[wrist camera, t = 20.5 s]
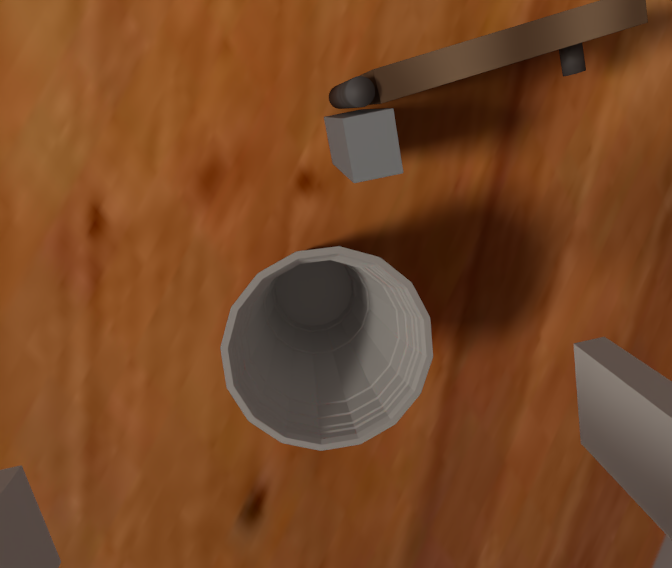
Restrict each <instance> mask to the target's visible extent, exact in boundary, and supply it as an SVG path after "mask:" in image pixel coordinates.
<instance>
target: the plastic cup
mask: <svg viewBox="0 0 672 568" xmlns="http://www.w3.org/2000/svg"><path fill="white" fill-rule="evenodd" d="M220 349H221V355H222V361H223V367H224V374H225V380H226V386H227V389H228V390H229V392H230V393H231V395H232V397H233V398H234V400H235V401H236V403H237V404H238V406H239V407H240V409H241V410H242V412H243V413H244V415H245V416H246V418H247V419H248V421H249V422H251V423H252V424H254V425H255V426H257V427H258V428H260V429H261V430H263V431H264V432H266V433H267V434H269V435H270V436H272V437H274V438H275V439H277V440H278V441H280V442H281V443H285V444H290V445H295V446H300V447H305V448H310V449H315V450H320V451H322V450H328V449H334V448H340V447H346V446H352V445H358V444H362V443H363V442H365V441H367V440H369V439H370V438H372V437H374V436H376V435H377V434H379V433H381V432H383V431H384V430H386V429H388V428H390V427H391V426H393V425H395V424H396V423H397V422H398V420H399V419H400V418H401V417H402V416H403V414H404V413H405V412H406V411H407V410H408V408H409V407H410V406H411V405H412V404H413V402H414V401H415V400H416V399H417V398H418V396H419V395H420V394H421V391H422V388H423V385H424V382H425V379H426V376H427V373H428V370H429V367H430V364H431V361H432V358H433V349H432V335H431V321H430V316H429V314H428V312H427V310H426V309H425V307H424V305H423V303H422V301H421V299H420V297H419V295H418V293H417V291H416V289H415V288H414V286H413V284H412V282H410V281H409V280H408V279H407V278H405V277H404V276H403V275H402V274H400V273H399V272H398V271H397V270H395V269H394V268H393V267H392V266H390V265H389V264H388V263H387V262H385V261H384V260H383V259H382V258H380V257H377V256H374V255H370V254H366V253H363V252H359V251H355V250H352V249H348V248H344V247H341V246H336V247H329V248H321V249H313V250H305V251H297V252H295V253H293V254H291V255H289V256H288V257H286V258H284V259H282V260H280V261H279V262H277V263H275V264H273V265H272V266H270V267H268V268H266V269H265V270H263V271H261V272H259V273H258V274H257V275H256V276H255V277H254V279H253V280H252V281H251V283H250V284H249V285H248V286H247V288H246V289H245V290H244V292H243V293H242V294H241V295H240V297H239V298H238V299H237V300H236V302H235V303H234V304H233V306H232V307H231V310H230V313H229V317H228V321H227V325H226V328H225V332H224V336H223V340H222V344H221V347H220Z"/></svg>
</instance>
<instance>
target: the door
mask: <svg viewBox="0 0 672 568" xmlns="http://www.w3.org/2000/svg"><path fill="white" fill-rule="evenodd" d="M647 22H648V19H647V10H646V1H645V0H600V1H597V2H594V3H591V4H587V5H584V6H581V7H577V8H574V9H571V10H567V11H564V12H561V13H558V14H554V15H551V16H548V17H544V18H541V19H538V20H535V21H531V22H528V23H525V24H521V25H518V26H515V27H512V28H508V29H505V30H502V31H498V32H495V33H492V34H488V35H485V36H482V37H479V38H475V39H472V40H469V41H465V42H462V43H459V44H456V45H452V46H449V47H446V48H442V49H439V50H436V51H433V52H429V53H426V54H423V55H419V56H416V57H413V58H410V59H406V60H403V61H400V62H396V63H393V64H390V65H386V66H383V67H380V68H377V69H373V70H371V71H369V72H367V73H364V74H362V75H360V76H358V77H355V78H352V79H350V80H348V81H346V82H344V83H342V84H339V85H337V86H335V87H334V88H332V90H331V91H330V93H329V101H330V103H331V105H332V106H333V107H335V108H338V109H343V108H357V107H365V106H367V105H370V104H380V103H384V102H388V101H391V100H394V99H398V98H401V97H404V96H407V95H411V94H414V93H417V92H421V91H424V90H427V89H430V88H434V87H437V86H440V85H444V84H447V83H450V82H453V81H457V80H460V79H463V78H467V77H470V76H473V75H476V74H480V73H483V72H486V71H490V70H493V69H496V68H499V67H503V66H506V65H509V64H513V63H516V62H519V61H522V60H526V59H529V58H532V57H535V56H539V55H542V54H545V53H549V52H552V51H555V50H558V49H559V54H560V60H561V67H562V73H563V76H568V75H572V74H576V73H579V72H582V71H585V70H586V67H585V60H584V53H583V46H582V42H585V41H588V40H591V39H595V38H598V37H601V36H604V35H608V34H611V33H614V32H618V31H621V30H624V29H627V28H631V27H634V26H637V25H641V24H644V23H647Z"/></svg>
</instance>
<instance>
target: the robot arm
mask: <svg viewBox="0 0 672 568" xmlns="http://www.w3.org/2000/svg"><path fill="white" fill-rule="evenodd" d="M574 356H575V370H576V383H577V397H578V410H579V424H580V438H581V444H582V445H583V446H584V447H585V448H586V449H587V450H588V451H589V452H590V453H591V454H592V455H593V457H594V458H595V459H596V460H597V461H598V462H599V463H600V464H601V465H602V466H603V467H604V468H605V469H606V470H607V472H608V473H609V474H610V475H611V476H612V477H613V478H614V479H615V480H616V481H617V482H618V483H619V484H620V485H621V486H622V488H623V489H624V490H625V491H626V492H627V493H628V494H629V495H630V496H631V497H632V498H633V499H634V500H635V501H636V502H637V504H638V505H639V506H640V507H641V508H642V509H643V510H644V511H645V512H646V513H647V514H648V515H649V516H650V517H651V519H652V520H653V521H654V522H655V523H656V524H657V525H658V526H659V527H660V528H661V529H662V530H663V531H664V532H665V533H666V535H667V536H668V537H670V539H671V540H672V382H671V381H670V380H668V379H667V378H665V377H664V376H662V375H661V374H659V373H658V372H656V371H655V370H653V369H652V368H650V367H649V366H647V365H646V364H644V363H643V362H641V361H640V360H638V359H637V358H635V357H634V356H632V355H631V354H629V353H628V352H626V351H625V350H623V349H622V348H620V347H619V346H617V345H616V344H614V343H613V342H611V341H610V340H608V339H607V338H605V337H601V338H597V339H592V340H588V341H583V342H579V343H574ZM60 563H61V560H60V558H59V556H58V553H57V551H56V548H55V546H54V543H53V541H52V538H51V536H50V534H49V531H48V529H47V526H46V524H45V521H44V519H43V516H42V514H41V512H40V509H39V507H38V504H37V502H36V499H35V497H34V495H33V492H32V490H31V487H30V485H29V482H28V480H27V477H26V475H25V473H24V470H23V468H22V465H21V466H17V467H12V468H8V469H3V470H0V568H58V567H59V565H60Z"/></svg>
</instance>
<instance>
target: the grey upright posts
mask: <svg viewBox="0 0 672 568" xmlns="http://www.w3.org/2000/svg"><path fill="white" fill-rule="evenodd" d="M324 120H325V125H326V131H327V136H328V141H329V146H330V152H331V157H332V162H333V164H334V165H335V166H336V167H337V168H338V169H339V170H340V171H341V172H342V173H343V174H345V175H346V176H347V177H348V178H349V179H350V180H351V181H352V182H353V183H358V182H362V181H367V180H372V179H377V178H382V177H387V176H391V175H396V174H401V173H403V168H402V161H401V155H400V148H399V142H398V135H397V129H396V122H395V116H394V109H393V108H388V109H365V110H356V111H351V112H346V113H341V114H337V115H332V116H327V117H324Z"/></svg>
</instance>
